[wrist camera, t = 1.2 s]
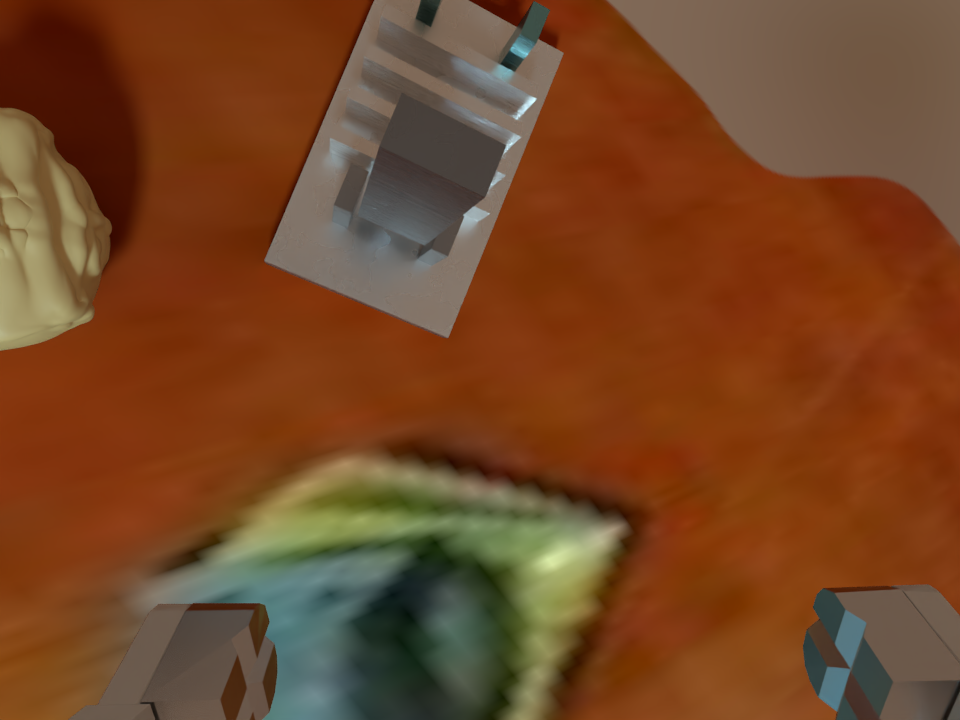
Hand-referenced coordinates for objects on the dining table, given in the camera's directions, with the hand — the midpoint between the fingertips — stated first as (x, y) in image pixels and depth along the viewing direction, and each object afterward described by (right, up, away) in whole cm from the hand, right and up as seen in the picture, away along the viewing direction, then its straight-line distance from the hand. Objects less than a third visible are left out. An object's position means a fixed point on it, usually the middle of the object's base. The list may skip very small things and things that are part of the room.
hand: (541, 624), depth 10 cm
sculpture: (-27, +10, +28) cm, 41 cm away
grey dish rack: (-5, +17, +33) cm, 38 cm away
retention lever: (-5, +12, +27) cm, 30 cm away
